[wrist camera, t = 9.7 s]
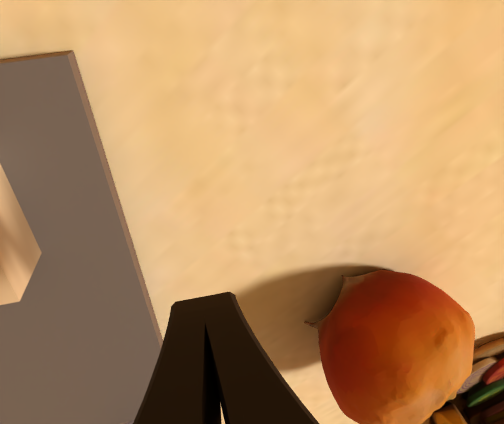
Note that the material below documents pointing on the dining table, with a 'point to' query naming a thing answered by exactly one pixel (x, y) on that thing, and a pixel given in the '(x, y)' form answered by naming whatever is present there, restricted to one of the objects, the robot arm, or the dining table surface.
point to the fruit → (394, 348)
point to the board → (69, 260)
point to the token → (14, 246)
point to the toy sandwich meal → (478, 391)
